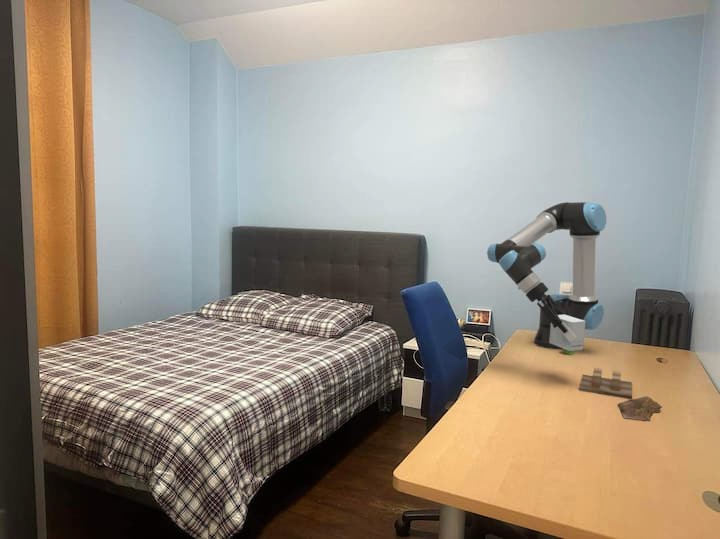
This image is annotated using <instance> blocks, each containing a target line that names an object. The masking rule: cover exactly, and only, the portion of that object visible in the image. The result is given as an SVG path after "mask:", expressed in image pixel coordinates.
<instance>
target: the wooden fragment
mask: <svg viewBox="0 0 720 539" xmlns="http://www.w3.org/2000/svg"><path fill="white" fill-rule="evenodd" d="M617 405H618V407H619V410H620V412H621V414H622V416H623V420H631V421H636V422H637V421H641V422H651V416H653V414H657V413H660V412H662V411H661V408H663V406H662V405H660V403H658V402H657V401H655V400H653V399H652V398H651V397H650V396H648V395H647V396H643V397H637V398H634V399H633V398H632V399H627V400H625V401H623V402H622V401H621V402H618V404H617Z"/></svg>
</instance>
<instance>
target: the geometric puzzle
mask: <svg viewBox="0 0 720 539" xmlns="http://www.w3.org/2000/svg"><path fill="white" fill-rule="evenodd" d="M559 350H562V349H561V348H560V349H559ZM563 352H564V353H565V355H573V354H575V352H576V350H574V351H568V350H566V349H563Z"/></svg>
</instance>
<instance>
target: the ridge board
mask: <svg viewBox="0 0 720 539" xmlns="http://www.w3.org/2000/svg"><path fill="white" fill-rule="evenodd" d="M602 372H603V369H602V368H597V367H594V368H593V371H592V375H588V374H582V375H581V380H580V383H579V387H578V391H581V392H587V393H593V394H599V395H605V396H611V397H617V398H622V399H627V400H632V399H633V383H632V381H627V380H621V379H622V378H621V375H622V374H621V373H622V372H621V371H618V370H612V376H611V378H607V377H602Z"/></svg>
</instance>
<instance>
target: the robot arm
mask: <svg viewBox="0 0 720 539" xmlns="http://www.w3.org/2000/svg"><path fill="white" fill-rule="evenodd" d="M604 208H605V207H603V205H601V204H600V203H598V202H589V201H586V202H582V201H581V202H567V201H566V202H565V201H564V202H561V203H557V204H555V205H552V206H550V207H548V208H546V209H544V210H543V211H542V212H540V213H538V215H537V216H536V218H535V219H534V220H533V221H531V222H530V223H528V224H527V225H526V226H524V227H523V228H521V229H520V230H519V231H517V232H515V233H514V234H512V235H511V236H510V237H508V238H507V239H505V240H504V241H502V242H501V243H498V242H497V243H492V244H489V246H488V249H487V252H486V255H487V258H488V261H490V262H492V263H497V264H498V265H499V266H500V267H501V269H502V270H503V271H504V272H505V274H507V276H508V277H509V278H510V279H511V280H512V281H513V282H514V283H515V285H516V286H517V289H518V290H521V292H522V293H524V294H525V297H526V298H527V299H529V300H528V301H530V302H531V303H534V302H535V301H537V303H536V304H537V306H538V307H539V309H540V310H539V326H538V329H537V332H536V334H535V336H534V339H533V343H534V345H536V346H539V347H541V348H546V349H555V350H564V349H563V348H561V347H558V346H556V345H553V344H551V343H549V340H550V327H551V323H552V324H553V327H554V328H556V327H557V328H558V329H559V330H560V331H561V332H562V334H563V335H564V336H565V337H566V338H567V339H568V341H569V342H571V341H572V340H573V339H575V338H576V336H575V335H574V334H573V332H572V331H571V330H570V329H569V328H568V327H567V326H566V324H565V323H564V322H563V323H562V321H561V320H560V318H559V316H558V315H564V314H565V315H568V316H571V317H574V318H578V319H581V320H584V321H585V330H588V331H592V330H596V329H597V328H598V327H599V326H600V324H601V323H602V321H603V318H604V314H605V308H604V306H603V305H602V304H601V303H599V297H598V296H597V295H596V294H595V291H596V290H595V289H596V288H595V286H596V285H595V284H596V282H595V281H596V275H595V274H596V244H597V242H596V239H597V238H598V237H599V236H600V234H601V232H602V231H603V230H604V229H605V228H606V225H607V214H606V213H607V212H606V210H605V209H604ZM558 230H559V231H560V230H565V231H567V230H568V231H569V236H570V237H571V238H572V239H573V242H572V243H573V245H572V246H573V247H572V248H573V249H572V250H573V252H572V294H571V295H568V294H547V292H548V291H549V288H548V287H547V285H545V283H544V282H541V278H540V277H539V276H538V275H537V274H536V273H535V272H534V271H533V270H532V269H533V268H534V267H535V266H537V265H540V264H541V262H542V261H543V260H544V259H545V258H546V256H547V251H546V248H545V247H544V246H543V244H541V243H539V242H537V241H539V240H540V239H541V238H543V237H544V236H545V235H547V234H551V233H553V232H555V231H558ZM560 348H561V349H560Z"/></svg>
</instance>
